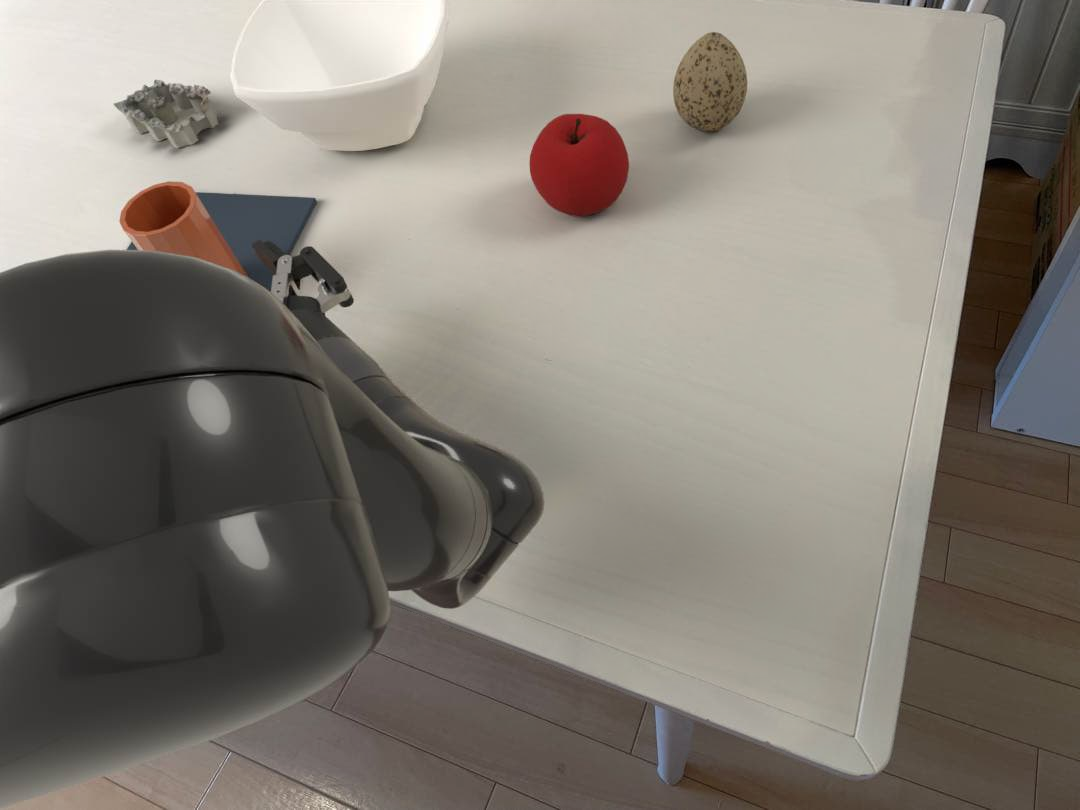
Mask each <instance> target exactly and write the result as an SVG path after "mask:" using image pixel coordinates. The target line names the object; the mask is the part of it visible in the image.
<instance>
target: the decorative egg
mask: <svg viewBox="0 0 1080 810" xmlns="http://www.w3.org/2000/svg"><path fill="white" fill-rule="evenodd" d="M673 79H674V80H673V85H672V86H673V88H672V92H673V94H672V95H673V102H674V106H675V108H676V109H675V110H676V111H677V113H678V115H679V116H680V118H681V119H682V120H683V122H684V123H685V124H687V125H688V126H689V127H690V128H693V129H695V130H697V131H700V132H715V131H718V130H720V129H723V128H724V127H726V126H728V125H729V124H731V123H732V122H733V121H734V120H735V119H736V118H737V116H738V115H739V113H740V112H741V110H742V108H743V106H744V103H745V102H746V97H747V94H748V74H747V69H746V64H745V62H744V60H743V58H742V56H741V54H740V52H739V51H738V49H737V47H736V46H735V45H734V44H733V42H732V41H731V40H730V39H729V38H727V37H726V36H725V35H724V34H722V33H719V32H717V31H711V32H707V33H705V34H704V35H702V36H701V37H699V38H698V39H697V40H696V41H695V42H694V43H693V44H692V45H691V46H690V47H689V48H688V50H687V52H685V54H684V55H683V57H682V59H681V60H680V62H679V64H678V67H677V69H676V72H675V75H674V78H673Z"/></svg>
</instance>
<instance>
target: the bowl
mask: <svg viewBox="0 0 1080 810" xmlns="http://www.w3.org/2000/svg"><path fill="white" fill-rule="evenodd" d="M450 5H451V4H450V0H261V1H260V2H259V4H257V6H256V7H255V9H254V10H253V12H252V13H251V15H250V16H249V17H248V19H247V21H246V23H245V25H244V27H243V29H242V30H241V32H240V34H239V35H238V38H237V41H236V44H235V48H234V51H233V54H232V58H231V59H232V61H231V66H230V73H229V74H230V75H229V76H230V80H231V85H232V88H233V89H232V90H233V92H234V95H235V96H236V98H238V99H239V100H240V101H242V102H243V103H245V104H246V105H248V106H249V107H250V108H252V109H253V110H255V111H256V112H257V113H259V114H260V115H261V116H262V117H264V118H265V119H266V120H268V121H270V122H271V123H272V124H274V125H275V126H277V127H278V128H279V129H281V130H286V131H289V132H296V133H301V134H302V135H303V136H304V137H306V138H307V139H308V140H310V141H311V142H312V143H314V144H315V145H316V146H317V147H319V148H320V149H323V150H327V151H343V152H344V151H345V152H358V151H359V152H361V151H369V150H378V149H381V148H386V147H391V146H397V145H400V144H403V143H406V142H408V141H410V139H412V137H413V136H414V134H415V133H416V131H417V128H419V127H418V126H419V125H420V122H421V121H422V117H423V113H424V109H425V105H426V104H427V103H428V101H429V99H430V97H431V95H432V93H433V91H434V88H435V86H436V84H437V79H438V77H439V74H440V73H439V72H440V69H441V65H442V64H441V63H442V59H443V55H444V49H445V44H446V39H447V35H448V34H447V33H448V28H449V24H450Z"/></svg>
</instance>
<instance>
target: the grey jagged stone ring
mask: <svg viewBox="0 0 1080 810" xmlns="http://www.w3.org/2000/svg"><path fill="white" fill-rule="evenodd" d="M211 94H212V92H211V91H210V90H209V88H206V87H205V86H203V85H200V84H198V85H197V84H193V86H192V85H189V84H188V85H184V84H183V83H177V82H176V83H175V82H174V83H171V82H168V83H166V82H165V81H163V80H161V79H154V81H153V85H151V86H148V85H146V84H144V85H142V87H141V89H140V90H139V89H138V90H135V91H134V93H132V94H127V95H126V98H125V99H123V100H122V101H118V102H114V103H113V106H114V107H115V108H116V109H117V110H118V111H119V112H120V113H122V114H123V115H124V116H125V118H126V120H127V121H128V122H129V124H130V126H131V127H132V129H133V131H134V132H135V133H136V134H139V135H143V134H144V133H147V132H149V134H150V135H151V137H152V138H153V140H155V141H157V142H161V141H163V140H166V139H168V141H169V143H170V144H171V146H172V147H173V148H175V149H179V148H180V149H181V148H183V147H185V146H192V145H194V144H195V143H197V142H199V138H198V135H199V133H200V132H201V131H203V130H205V129H214V128H215V127H216V126H218V125H219V121H218V116H219V115H218V113H217V110H216V107H215V105H214V102H212V101H211V99H210V98H209V97H210V95H211Z"/></svg>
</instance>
